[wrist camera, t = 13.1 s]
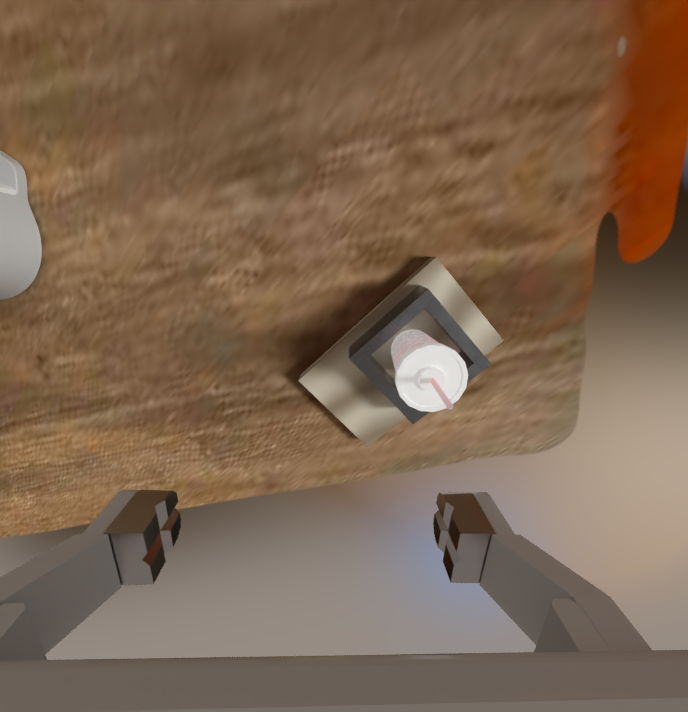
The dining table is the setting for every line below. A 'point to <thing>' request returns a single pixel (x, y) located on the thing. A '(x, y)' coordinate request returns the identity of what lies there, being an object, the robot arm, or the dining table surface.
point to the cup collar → (394, 323)
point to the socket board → (354, 389)
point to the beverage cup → (427, 372)
